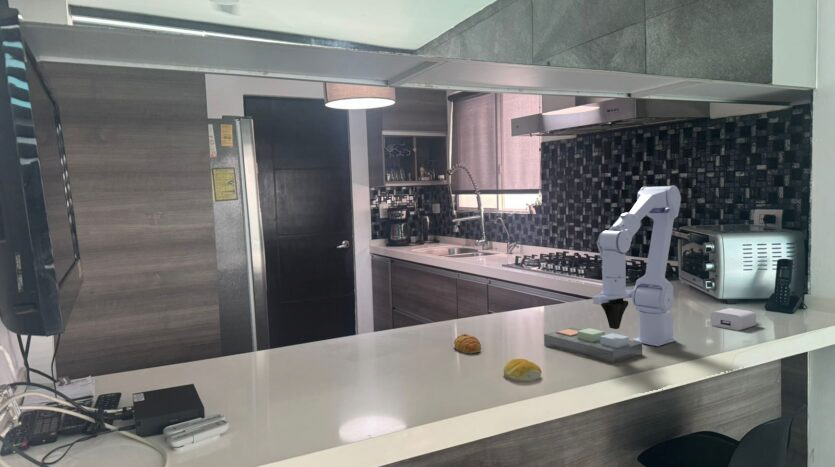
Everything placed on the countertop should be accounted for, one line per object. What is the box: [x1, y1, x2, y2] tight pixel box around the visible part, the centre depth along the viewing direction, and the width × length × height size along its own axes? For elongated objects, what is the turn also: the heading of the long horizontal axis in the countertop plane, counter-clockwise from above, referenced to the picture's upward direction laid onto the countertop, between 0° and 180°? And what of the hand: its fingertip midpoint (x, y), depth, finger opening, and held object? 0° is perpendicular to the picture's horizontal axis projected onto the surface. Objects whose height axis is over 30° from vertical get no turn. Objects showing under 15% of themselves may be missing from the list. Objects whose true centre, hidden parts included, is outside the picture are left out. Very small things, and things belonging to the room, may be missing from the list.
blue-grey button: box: [600, 332, 630, 348], centre depth 145 cm, size 5×5×3 cm
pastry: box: [453, 333, 482, 354], centre depth 155 cm, size 9×7×4 cm
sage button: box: [578, 327, 606, 342], centre depth 151 cm, size 5×5×3 cm
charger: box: [710, 307, 758, 331], centre depth 173 cm, size 5×9×15 cm
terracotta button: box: [557, 328, 578, 337], centre depth 157 cm, size 5×5×3 cm
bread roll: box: [503, 358, 543, 383], centre depth 131 cm, size 8×9×4 cm
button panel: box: [543, 327, 643, 364], centre depth 151 cm, size 12×23×3 cm, turn 34°
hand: (614, 328), depth 145 cm, fingers closed
